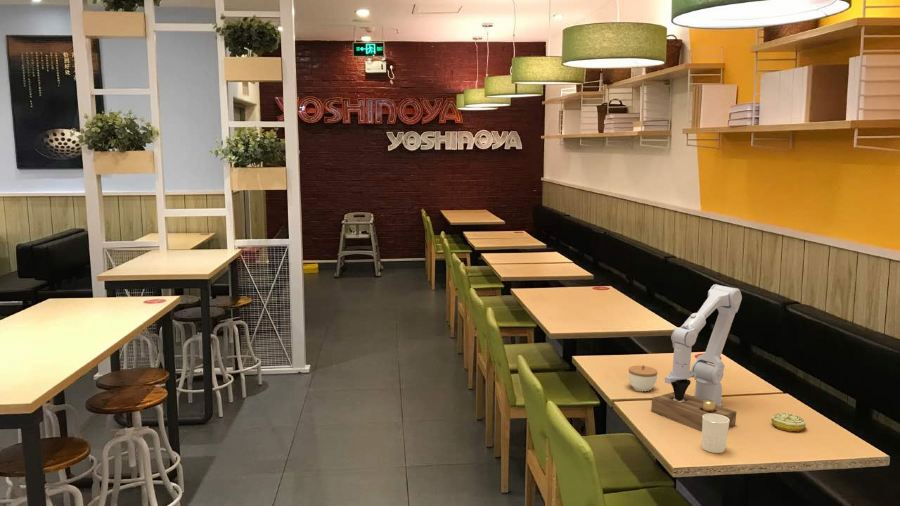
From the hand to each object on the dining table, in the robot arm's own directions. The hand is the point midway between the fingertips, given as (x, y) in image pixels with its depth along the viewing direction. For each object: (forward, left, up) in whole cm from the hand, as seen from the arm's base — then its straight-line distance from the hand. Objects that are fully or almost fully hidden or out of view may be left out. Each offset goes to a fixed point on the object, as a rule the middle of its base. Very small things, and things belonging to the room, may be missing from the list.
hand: (678, 399), depth 258 cm
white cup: (+16, +26, -5) cm, 31 cm away
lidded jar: (-9, -24, -5) cm, 26 cm away
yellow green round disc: (-22, +28, -5) cm, 36 cm away
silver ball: (0, 0, -5) cm, 5 cm away
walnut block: (0, +6, -5) cm, 8 cm away
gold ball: (0, +12, -2) cm, 12 cm away
